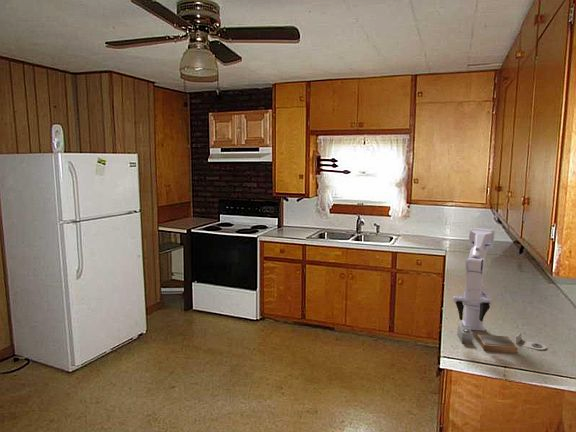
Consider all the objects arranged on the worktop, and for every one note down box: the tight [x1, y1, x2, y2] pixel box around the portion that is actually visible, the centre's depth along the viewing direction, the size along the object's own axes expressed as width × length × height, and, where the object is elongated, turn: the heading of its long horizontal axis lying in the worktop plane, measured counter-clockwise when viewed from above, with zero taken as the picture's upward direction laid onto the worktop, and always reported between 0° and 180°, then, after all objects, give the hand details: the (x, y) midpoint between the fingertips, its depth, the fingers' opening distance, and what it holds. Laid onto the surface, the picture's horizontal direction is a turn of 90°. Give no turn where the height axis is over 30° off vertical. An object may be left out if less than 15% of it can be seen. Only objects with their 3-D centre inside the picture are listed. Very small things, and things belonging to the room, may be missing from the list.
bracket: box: [515, 331, 547, 351], centre depth 164 cm, size 7×10×4 cm, turn 47°
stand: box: [476, 333, 519, 354], centre depth 163 cm, size 10×12×2 cm
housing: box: [456, 324, 474, 345], centre depth 169 cm, size 8×4×5 cm, turn 170°
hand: (470, 319), depth 166 cm, fingers open, 7 cm apart
